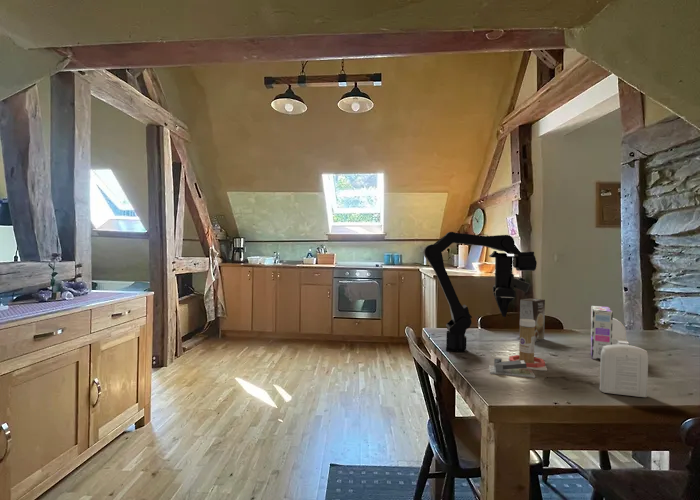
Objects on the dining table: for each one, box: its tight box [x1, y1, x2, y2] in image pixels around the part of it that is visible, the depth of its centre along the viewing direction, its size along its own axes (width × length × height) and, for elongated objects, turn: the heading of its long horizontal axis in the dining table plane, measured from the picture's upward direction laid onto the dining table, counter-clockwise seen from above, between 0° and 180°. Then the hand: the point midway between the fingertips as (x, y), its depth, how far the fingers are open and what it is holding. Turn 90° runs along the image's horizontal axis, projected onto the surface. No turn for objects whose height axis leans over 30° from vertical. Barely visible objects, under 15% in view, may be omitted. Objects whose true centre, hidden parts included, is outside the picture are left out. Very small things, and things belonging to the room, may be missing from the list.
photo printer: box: [599, 344, 649, 398], centre depth 102 cm, size 10×4×12 cm, turn 72°
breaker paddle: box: [499, 360, 527, 370], centre depth 119 cm, size 1×4×8 cm
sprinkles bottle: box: [518, 318, 536, 363], centre depth 128 cm, size 5×5×14 cm
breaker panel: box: [488, 357, 536, 379], centre depth 119 cm, size 12×7×3 cm, turn 74°
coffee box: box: [518, 297, 546, 342], centre depth 164 cm, size 9×6×16 cm
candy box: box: [590, 305, 614, 361], centre depth 139 cm, size 14×6×16 cm, turn 151°
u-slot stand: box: [612, 317, 630, 345], centre depth 154 cm, size 10×18×11 cm, turn 153°
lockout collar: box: [507, 354, 548, 371], centre depth 127 cm, size 10×10×2 cm
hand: (503, 314), depth 143 cm, fingers open, 9 cm apart
